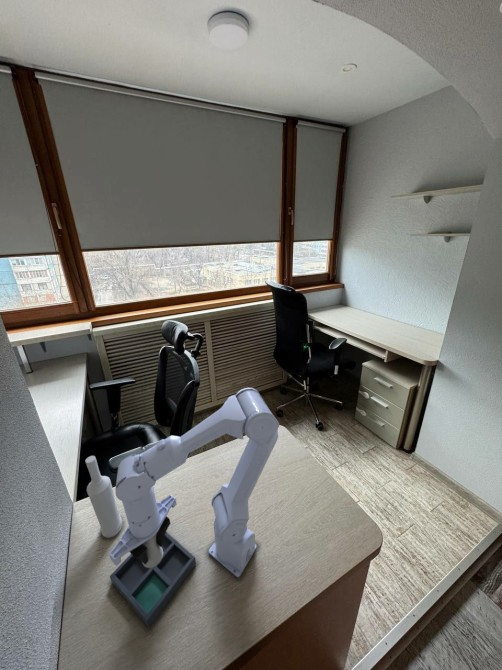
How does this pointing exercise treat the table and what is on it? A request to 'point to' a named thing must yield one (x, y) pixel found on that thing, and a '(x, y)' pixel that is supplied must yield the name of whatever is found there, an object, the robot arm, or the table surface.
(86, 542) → the table surface
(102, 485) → the bottle
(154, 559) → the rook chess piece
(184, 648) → the table surface
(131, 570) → the tray
